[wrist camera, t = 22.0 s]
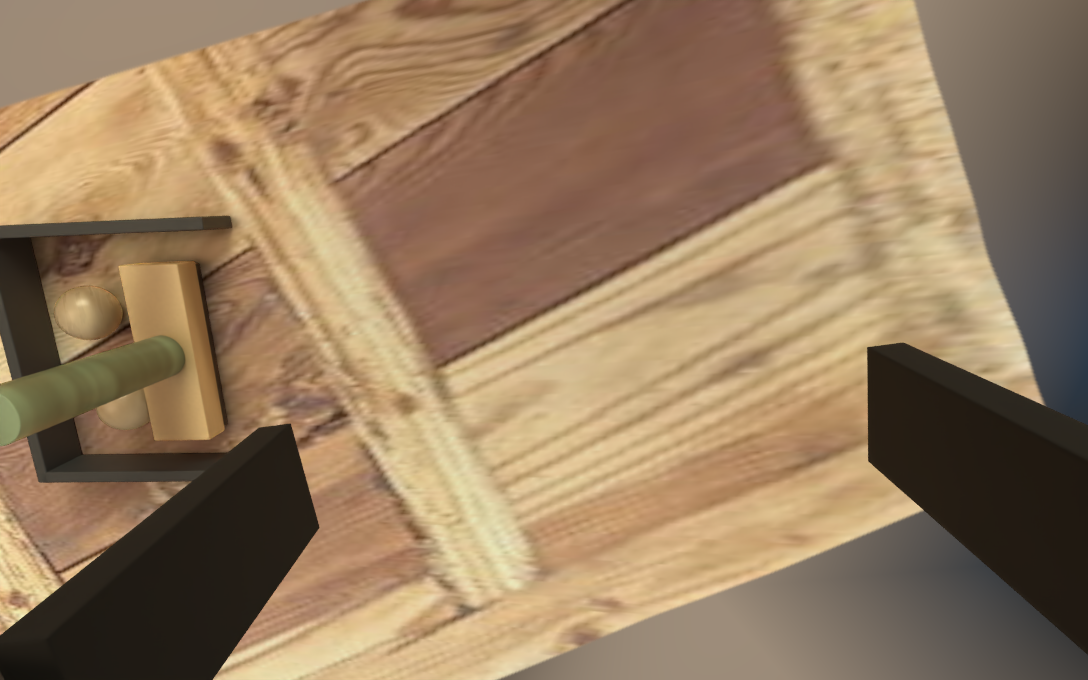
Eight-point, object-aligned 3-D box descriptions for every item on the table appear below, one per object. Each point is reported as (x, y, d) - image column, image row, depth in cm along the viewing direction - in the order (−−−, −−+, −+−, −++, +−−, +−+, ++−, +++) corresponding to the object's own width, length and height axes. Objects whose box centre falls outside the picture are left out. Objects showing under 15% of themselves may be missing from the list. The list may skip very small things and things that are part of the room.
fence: (230, 215, 38) (201, 216, 35) (270, 462, 42) (246, 481, 39) (16, 225, 39) (-29, 226, 36) (74, 464, 43) (38, 483, 40)
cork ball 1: (44, 279, 37) (114, 272, 39) (52, 306, 39) (117, 299, 41) (56, 328, 36) (127, 319, 38) (63, 353, 38) (129, 343, 41)
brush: (202, 259, 39) (-2, 289, 25) (231, 426, 42) (61, 534, 28) (146, 261, 39) (-85, 292, 26) (178, 427, 42) (-15, 534, 28)
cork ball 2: (105, 376, 38) (145, 361, 41) (70, 407, 38) (112, 390, 42) (145, 418, 38) (181, 399, 42) (110, 448, 39) (148, 427, 42)
